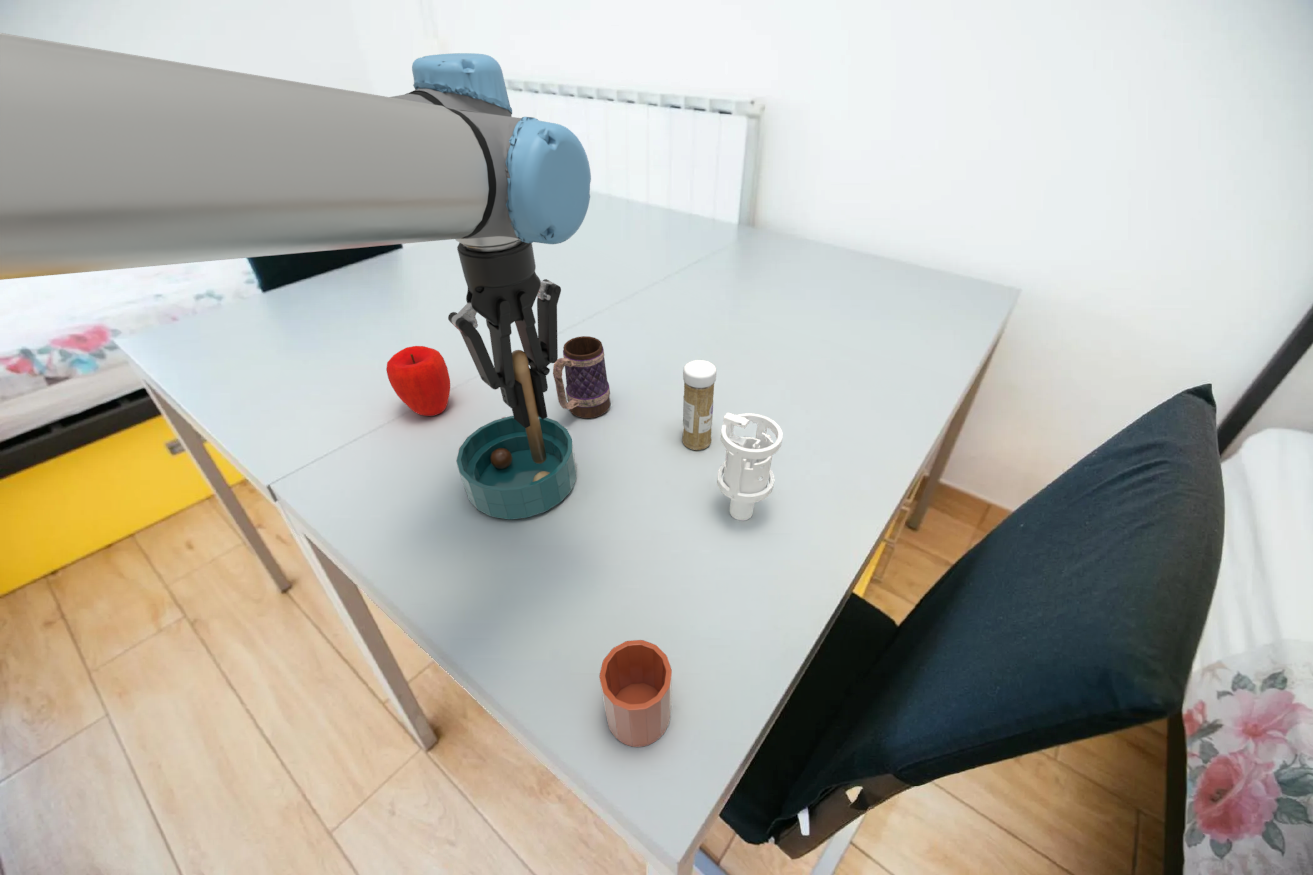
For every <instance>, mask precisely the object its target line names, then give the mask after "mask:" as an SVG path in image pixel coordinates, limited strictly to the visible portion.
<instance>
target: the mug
mask: <svg viewBox="0 0 1313 875" xmlns="http://www.w3.org/2000/svg"><path fill="white" fill-rule="evenodd" d="M562 349H563V350H562V357H560V358H559V357H558V359H557V361H556V362H555V363H553V367H552V377H553V380H554V383H555V390H556V395H557V400H558V404H559V406H560V407H561V408H562V409H564V410H569V412H570V413H571V414H572V415H574V416H575V417H577V418H582V419H594V418H597V417H601V416H602V415H604V414H605V413H606V412H607V411H608V410H609V409H610V407H611V398H610V395H611V389H610V384H609V382H608V375H607V374H608V373H607V367H606V361H605V350H604V346H603V342H602V341H601V340H600V339H598V338H596V337H593V336H587V335H586V336H585V335H584V336H583V335H581V336H576V337H572V338H571V339H569V340H567V341H566V342H565V343H564V344H563V348H562ZM563 370H564V373H565V384H566V386H565V384H564V380H563Z"/></svg>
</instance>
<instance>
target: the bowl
mask: <svg viewBox="0 0 1313 875" xmlns="http://www.w3.org/2000/svg"><path fill="white" fill-rule="evenodd" d="M539 420H540V425H541V430H542V435H543V441H544V446H545V451H546V456H547V457H546V460H545V462H543V463H541V464H537V463H535V462H534V461H533V459H532V456H531V451H530V447H529V442H528V438H527V433H526V429H525V428H524V427H523V426H522V425H521V424H520V423H519V422H517V421H516V420H515V419H514V416H513V415H509V416H506V417H501V418H497V419H495V420H491V421H490V422H489V423H486V424H484V425H482V426H480V427H478V428H477V429H476V430H475V431H473V432H472V433H471V434H470V435H468V436H467V437H466V438H465V440H464V441H463V442H462V444H461V445H460V447H459V448H458V453H457V456H456V466H457V468H458V472H459V475H460V478H461V482H462V484H463V486H464V490H465V493H466V495H467V496H466V497H467V499H468V501H469V503H471V504H472V506H474V508H475V509H476V510H477V511H479V512H481V513H483V514H485V515H487V516H489V517H491V518H497V519H504V520H517V519H527V518H531V517H534V516H537V515H540V514H543V513H546V512H547V511H549V510H551V509H552V508H554V507H555V506H557V505H559V504H560V503H562V502H563V500H564V499H565V498H567V496H568V495H569V494H570V493H571V492H572V489H573V488H574V485H575V483H576V480H577V463H576V462H577V461H576V456H575V448H574V442H573V438H572V436H571V434H570V432H569V431H568V429H567V428H566V427H565V426H564V425H563V424H561V423H560V422H559V421H557V420H555V419H552V418H549V417H547V418H545V419H542V418H540V417H539ZM498 448H505V449H507V450H508V451H509V452H510V453H511V455H512V462H511V464H510V465H509V466H508V467H507V468H505V469H498V468H496V467H494V466H493V465H492V463H491V460H490V457H491V454H492V452H493V451H494V450H496V449H498ZM542 471H546V472H549V473H550V474H548V475H546V476H544V477H543V478H541V479H539V480H537V481H534V482H533V478H534V476H535V475H536V474H537V473H539V472H542Z"/></svg>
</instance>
